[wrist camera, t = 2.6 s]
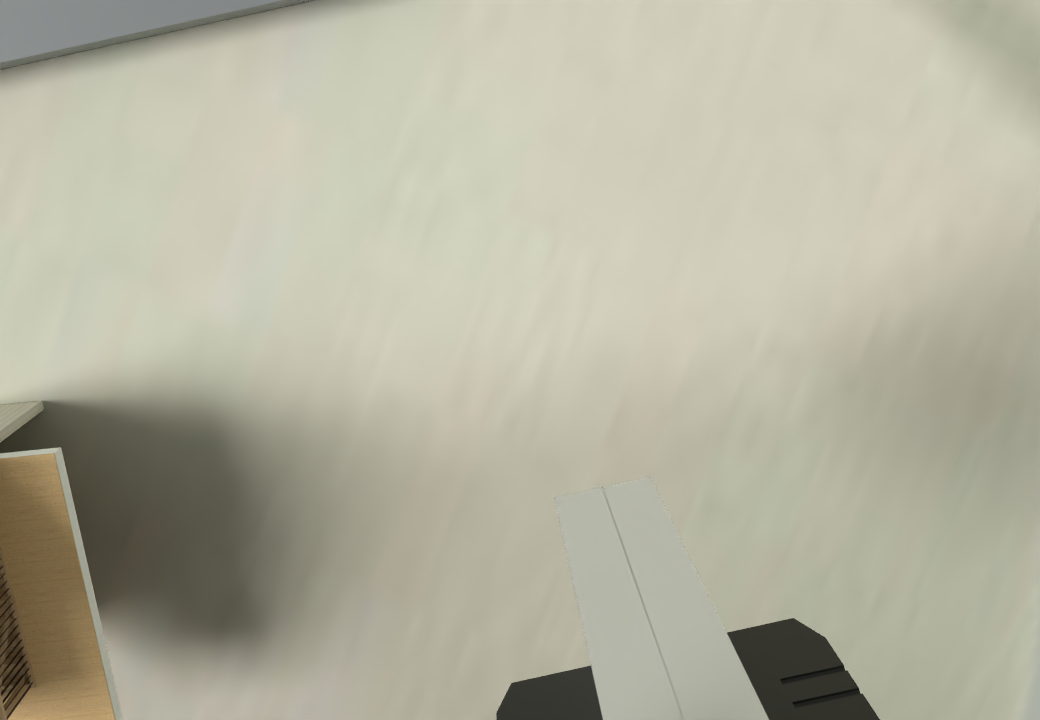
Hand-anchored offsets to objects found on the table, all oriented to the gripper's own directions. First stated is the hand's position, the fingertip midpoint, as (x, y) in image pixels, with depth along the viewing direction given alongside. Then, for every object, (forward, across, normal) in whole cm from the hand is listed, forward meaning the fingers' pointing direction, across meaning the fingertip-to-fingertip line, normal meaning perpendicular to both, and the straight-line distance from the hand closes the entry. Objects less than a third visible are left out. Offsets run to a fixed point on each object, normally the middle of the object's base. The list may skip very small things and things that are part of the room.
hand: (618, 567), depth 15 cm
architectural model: (+9, -13, 0) cm, 16 cm away
